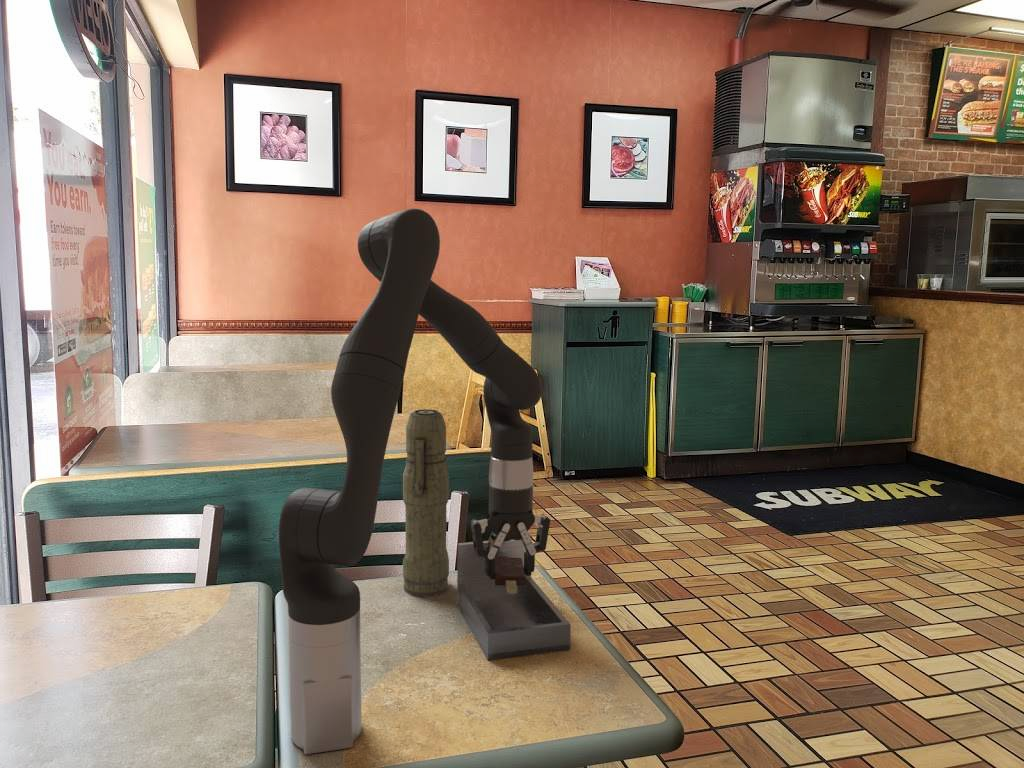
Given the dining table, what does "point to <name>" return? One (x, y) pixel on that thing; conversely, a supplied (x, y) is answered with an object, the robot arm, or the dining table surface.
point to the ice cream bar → (509, 573)
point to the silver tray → (507, 609)
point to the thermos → (425, 504)
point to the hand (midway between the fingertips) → (509, 575)
